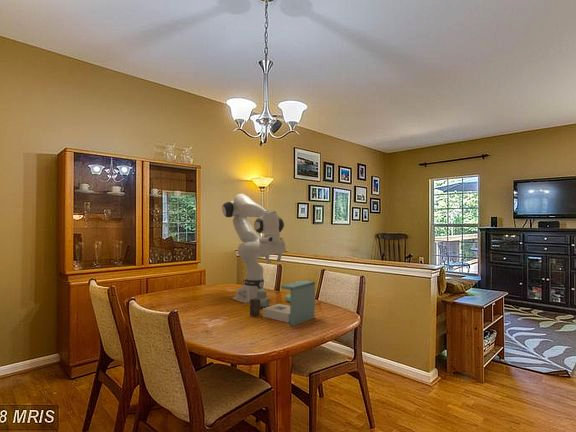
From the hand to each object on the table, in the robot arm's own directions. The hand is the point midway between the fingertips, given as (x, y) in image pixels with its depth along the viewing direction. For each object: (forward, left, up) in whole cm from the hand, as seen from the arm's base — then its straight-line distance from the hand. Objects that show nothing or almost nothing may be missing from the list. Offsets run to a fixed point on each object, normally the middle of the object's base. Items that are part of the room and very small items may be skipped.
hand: (274, 262), depth 198 cm
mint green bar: (-1, +25, -30) cm, 39 cm away
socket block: (+9, -2, -29) cm, 31 cm away
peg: (-5, -10, -29) cm, 31 cm away
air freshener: (-15, +7, -29) cm, 34 cm away
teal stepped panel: (+19, -2, -29) cm, 35 cm away
